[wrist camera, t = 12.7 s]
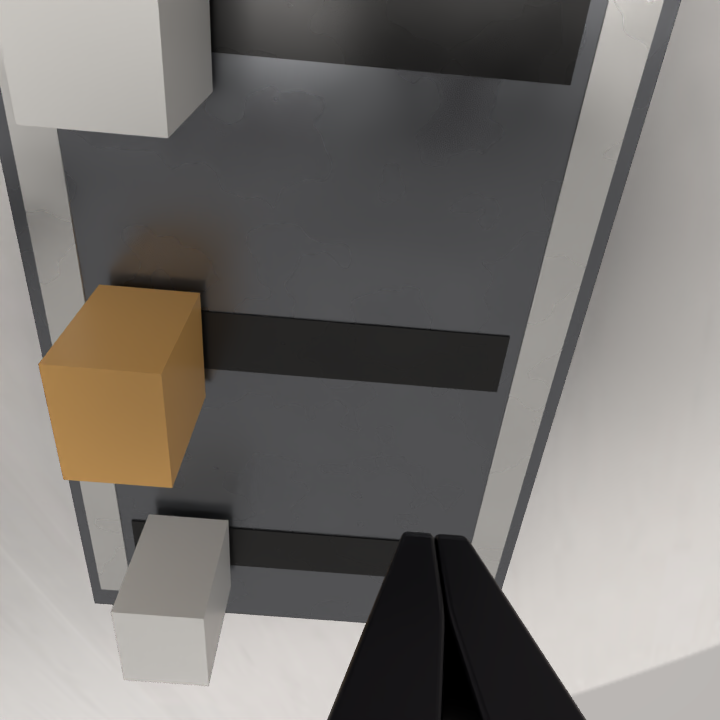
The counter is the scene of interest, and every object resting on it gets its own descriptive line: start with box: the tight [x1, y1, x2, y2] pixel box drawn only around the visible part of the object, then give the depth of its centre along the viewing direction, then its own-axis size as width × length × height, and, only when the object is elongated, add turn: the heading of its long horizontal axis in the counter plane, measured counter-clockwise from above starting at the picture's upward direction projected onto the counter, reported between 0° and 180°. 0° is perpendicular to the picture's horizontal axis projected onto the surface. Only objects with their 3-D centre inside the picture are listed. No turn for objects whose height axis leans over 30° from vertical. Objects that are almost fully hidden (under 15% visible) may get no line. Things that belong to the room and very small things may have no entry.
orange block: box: [38, 284, 206, 488], centre depth 18 cm, size 4×3×4 cm
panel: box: [0, 0, 681, 623], centre depth 21 cm, size 26×16×2 cm, turn 175°
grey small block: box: [111, 514, 231, 686], centre depth 23 cm, size 4×3×4 cm
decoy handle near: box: [0, 0, 213, 138], centre depth 13 cm, size 4×3×4 cm
